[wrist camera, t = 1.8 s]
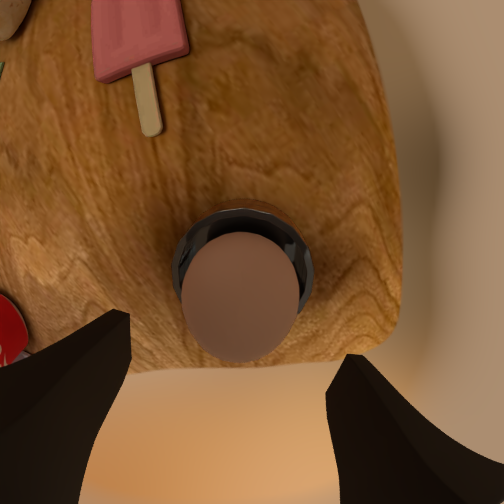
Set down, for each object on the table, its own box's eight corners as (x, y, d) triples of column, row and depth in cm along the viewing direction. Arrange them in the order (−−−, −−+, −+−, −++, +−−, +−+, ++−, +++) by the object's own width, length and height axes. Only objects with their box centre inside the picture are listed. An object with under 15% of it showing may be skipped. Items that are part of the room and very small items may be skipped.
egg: (186, 283, 17) (148, 368, 10) (216, 202, 15) (183, 251, 8) (267, 314, 17) (272, 407, 11) (306, 239, 16) (341, 311, 9)
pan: (288, 321, 18) (291, 345, 16) (176, 299, 18) (166, 321, 15) (321, 215, 15) (332, 227, 13) (191, 187, 15) (180, 194, 13)
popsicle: (104, 151, 13) (90, -39, 7) (117, 150, 14) (99, -30, 9) (199, 121, 12) (165, -70, 7) (205, 123, 14) (171, -59, 8)
